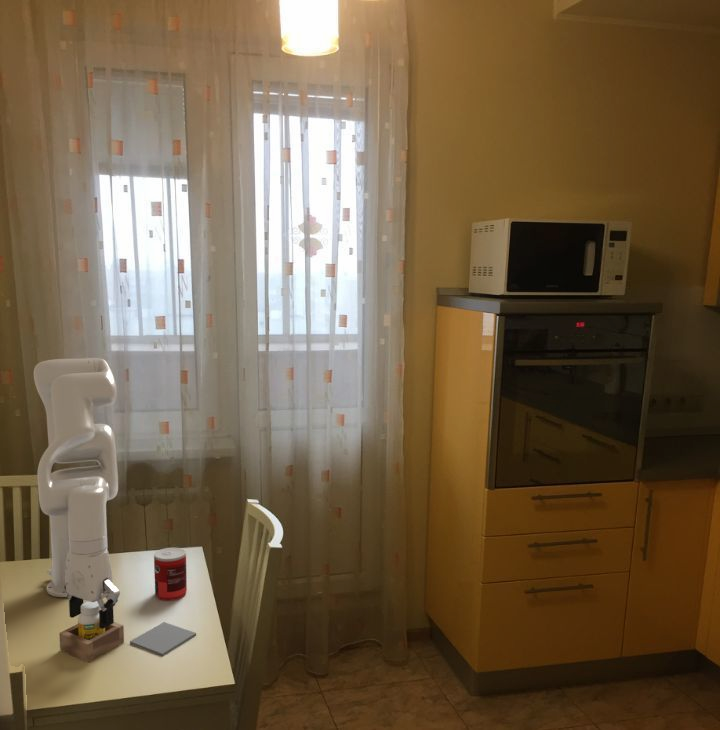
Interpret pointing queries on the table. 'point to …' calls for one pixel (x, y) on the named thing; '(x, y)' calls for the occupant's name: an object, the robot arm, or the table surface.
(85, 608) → the supplement bottle
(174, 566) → the canned food
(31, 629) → the table surface
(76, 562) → the robot arm
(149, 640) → the rubber mat
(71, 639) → the sleeve holder
